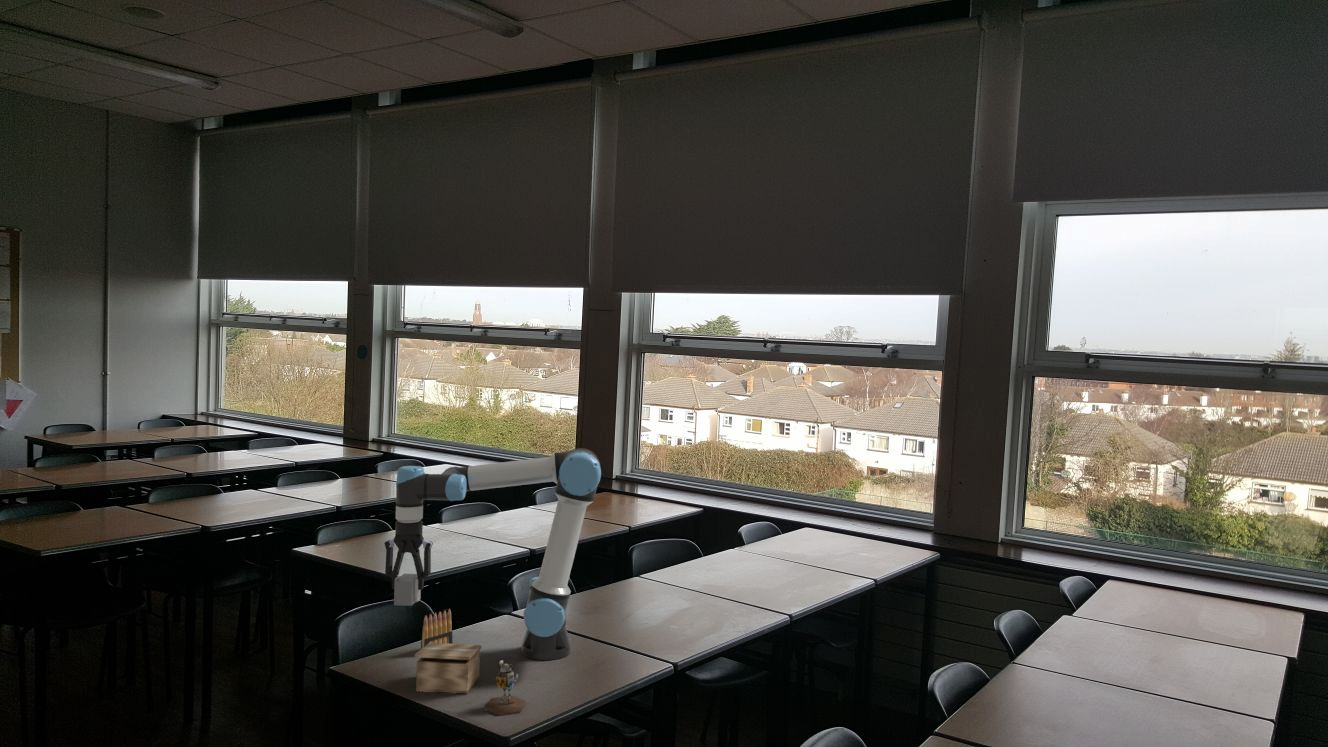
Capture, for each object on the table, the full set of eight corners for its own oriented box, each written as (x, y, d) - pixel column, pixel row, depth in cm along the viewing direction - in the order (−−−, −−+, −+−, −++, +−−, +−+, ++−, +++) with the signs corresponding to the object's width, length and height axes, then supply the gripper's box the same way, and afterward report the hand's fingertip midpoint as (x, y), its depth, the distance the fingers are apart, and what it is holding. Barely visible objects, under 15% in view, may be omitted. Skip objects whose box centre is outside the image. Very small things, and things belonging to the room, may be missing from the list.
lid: (481, 648, 240) (481, 644, 240) (469, 659, 228) (469, 656, 228) (429, 645, 241) (429, 642, 241) (414, 657, 228) (414, 653, 228)
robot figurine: (533, 707, 221) (535, 662, 221) (506, 719, 214) (508, 672, 214) (505, 696, 228) (506, 651, 228) (477, 706, 221) (479, 661, 221)
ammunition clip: (424, 656, 256) (425, 616, 255) (420, 654, 257) (421, 615, 256) (452, 647, 264) (453, 608, 264) (448, 645, 265) (450, 607, 265)
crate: (478, 677, 241) (479, 649, 240) (467, 694, 229) (468, 664, 228) (430, 674, 241) (430, 646, 241) (415, 691, 229) (416, 661, 229)
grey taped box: (420, 597, 250) (421, 574, 250) (411, 605, 242) (412, 581, 242) (403, 597, 250) (403, 573, 250) (393, 605, 242) (394, 580, 242)
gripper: (444, 518, 249) (442, 597, 250) (383, 516, 250) (381, 595, 250) (436, 523, 241) (434, 605, 242) (373, 521, 242) (371, 602, 243)
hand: (407, 599), depth 246 cm, fingers closed on grey taped box, 5 cm apart
